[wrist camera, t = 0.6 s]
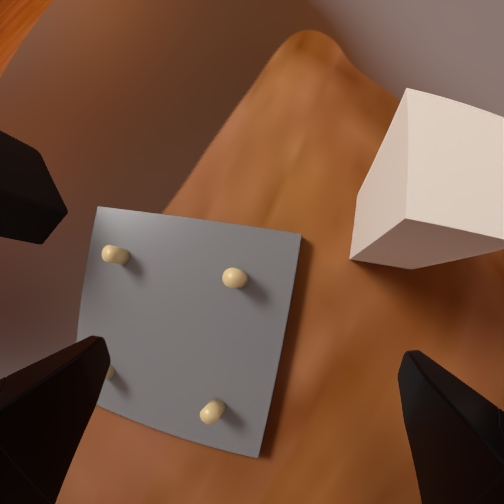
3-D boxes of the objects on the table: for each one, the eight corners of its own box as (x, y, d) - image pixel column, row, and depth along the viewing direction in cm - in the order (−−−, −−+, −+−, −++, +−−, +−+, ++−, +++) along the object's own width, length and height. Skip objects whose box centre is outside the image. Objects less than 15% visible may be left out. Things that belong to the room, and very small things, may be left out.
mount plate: (259, 451, 20) (253, 471, 17) (81, 391, 23) (59, 399, 20) (301, 236, 22) (300, 228, 19) (104, 209, 25) (83, 200, 22)
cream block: (411, 269, 20) (524, 244, 7) (349, 259, 21) (405, 218, 8) (417, 206, 21) (514, 121, 8) (357, 195, 21) (406, 88, 9)
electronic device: (39, 150, 27) (-27, 114, 18) (71, 215, 25) (-14, 186, 16) (17, 178, 28) (-50, 151, 18) (45, 246, 26) (-39, 229, 16)
